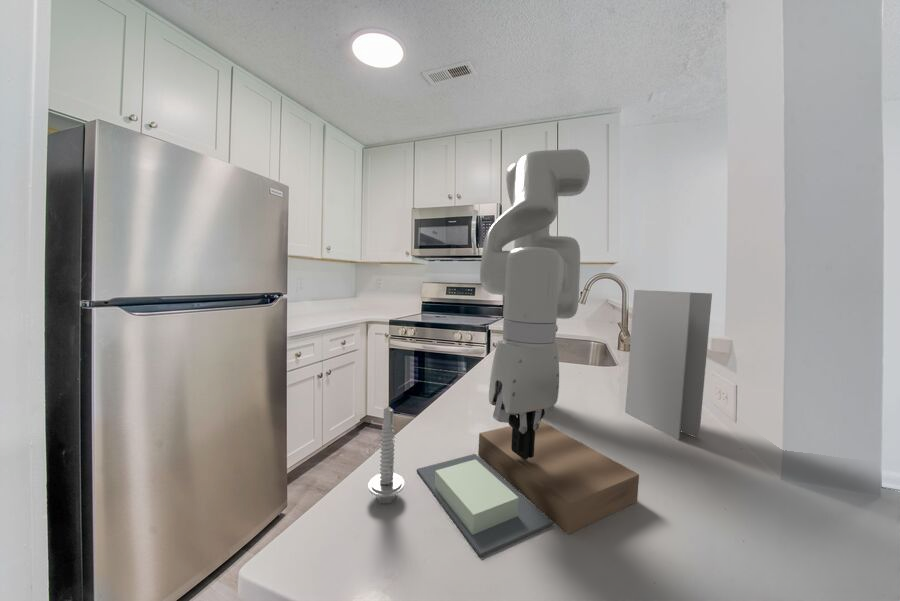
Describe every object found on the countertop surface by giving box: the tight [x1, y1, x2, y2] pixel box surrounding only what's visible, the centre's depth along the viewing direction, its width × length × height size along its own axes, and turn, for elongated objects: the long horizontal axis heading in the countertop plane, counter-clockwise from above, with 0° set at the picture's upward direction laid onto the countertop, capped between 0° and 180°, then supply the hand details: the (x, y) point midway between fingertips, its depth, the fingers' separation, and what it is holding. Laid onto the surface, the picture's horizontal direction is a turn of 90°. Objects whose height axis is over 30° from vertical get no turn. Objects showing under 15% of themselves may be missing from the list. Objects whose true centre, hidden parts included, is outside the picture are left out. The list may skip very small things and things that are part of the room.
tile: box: [435, 459, 519, 535], centre depth 45 cm, size 10×7×2 cm
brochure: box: [624, 289, 713, 441], centre depth 73 cm, size 14×6×30 cm, turn 14°
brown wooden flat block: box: [477, 419, 640, 535], centre depth 52 cm, size 20×14×4 cm
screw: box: [368, 406, 405, 504], centre depth 45 cm, size 13×5×5 cm
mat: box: [416, 453, 553, 558], centre depth 47 cm, size 18×11×1 cm, turn 29°
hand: (522, 453), depth 49 cm, fingers closed
